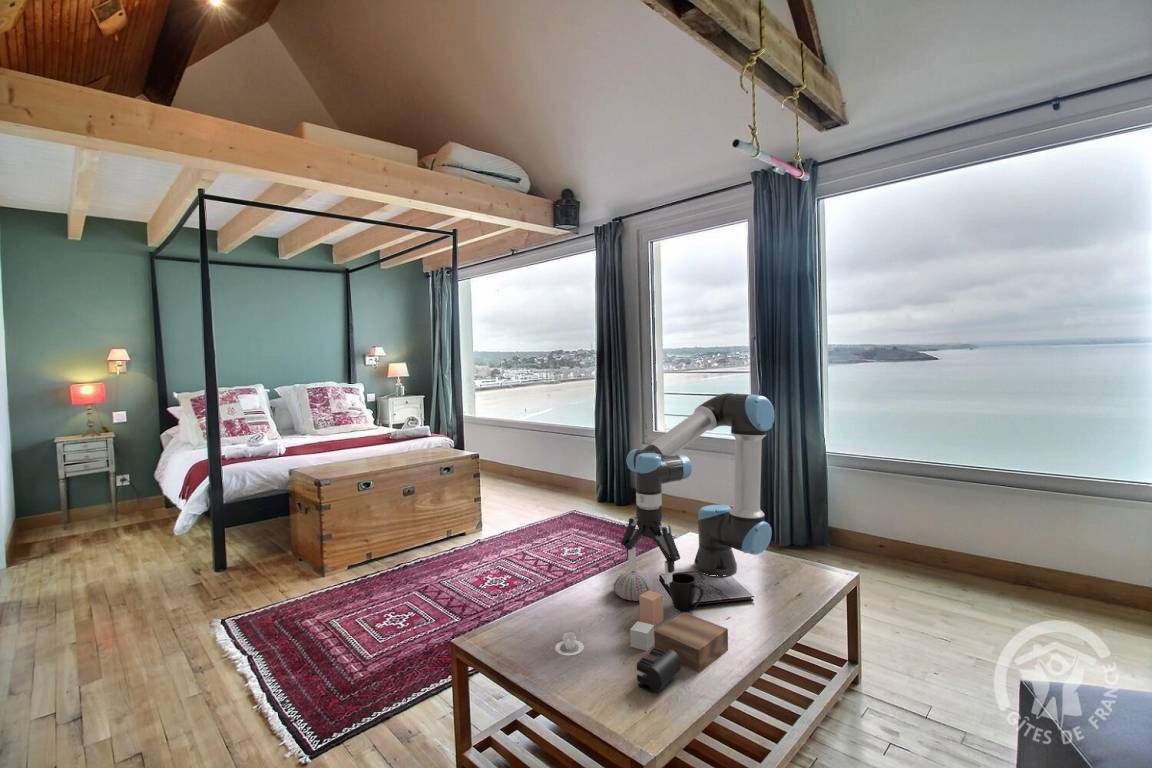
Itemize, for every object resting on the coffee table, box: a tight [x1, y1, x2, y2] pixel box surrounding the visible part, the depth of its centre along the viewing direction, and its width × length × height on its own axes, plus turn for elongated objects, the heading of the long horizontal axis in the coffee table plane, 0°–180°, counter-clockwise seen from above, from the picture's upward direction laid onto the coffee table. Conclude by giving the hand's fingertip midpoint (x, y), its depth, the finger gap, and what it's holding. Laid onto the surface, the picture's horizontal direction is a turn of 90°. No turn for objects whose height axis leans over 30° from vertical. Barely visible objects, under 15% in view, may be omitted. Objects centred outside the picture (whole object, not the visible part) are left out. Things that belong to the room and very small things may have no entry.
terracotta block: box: [638, 590, 664, 627], centre depth 166 cm, size 5×5×8 cm
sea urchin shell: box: [612, 569, 655, 602], centre depth 184 cm, size 13×14×8 cm
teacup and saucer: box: [554, 631, 585, 656], centre depth 153 cm, size 9×8×4 cm
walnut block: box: [654, 611, 729, 673], centre depth 149 cm, size 14×14×6 cm
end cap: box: [636, 647, 682, 694], centre depth 136 cm, size 10×7×7 cm
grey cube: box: [629, 620, 655, 652], centre depth 154 cm, size 5×5×5 cm
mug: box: [668, 572, 705, 613], centre depth 172 cm, size 8×12×10 cm
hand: (649, 576), depth 165 cm, fingers open, 13 cm apart
